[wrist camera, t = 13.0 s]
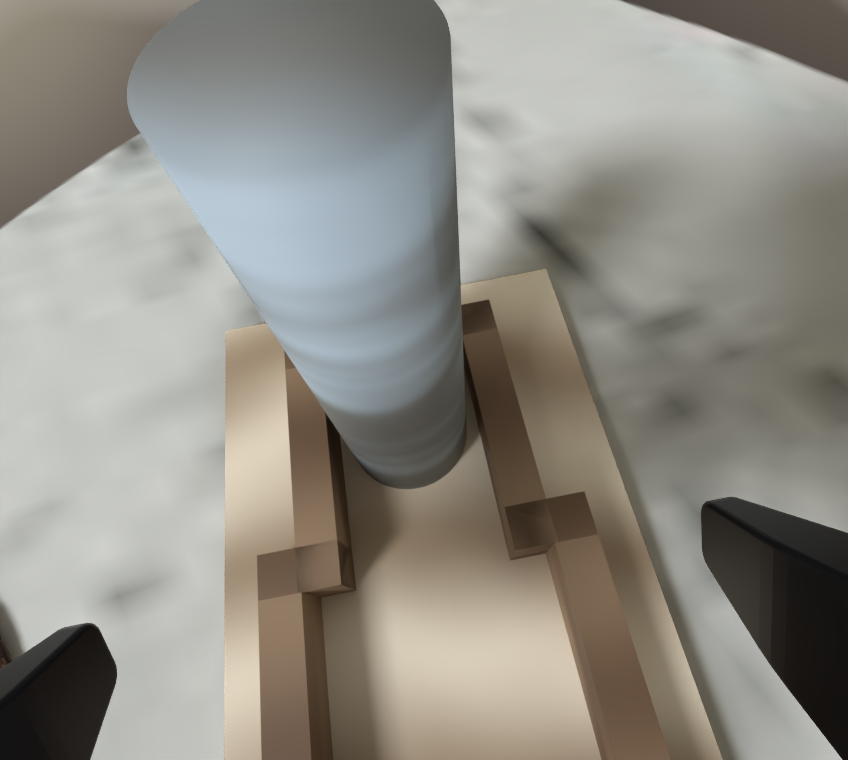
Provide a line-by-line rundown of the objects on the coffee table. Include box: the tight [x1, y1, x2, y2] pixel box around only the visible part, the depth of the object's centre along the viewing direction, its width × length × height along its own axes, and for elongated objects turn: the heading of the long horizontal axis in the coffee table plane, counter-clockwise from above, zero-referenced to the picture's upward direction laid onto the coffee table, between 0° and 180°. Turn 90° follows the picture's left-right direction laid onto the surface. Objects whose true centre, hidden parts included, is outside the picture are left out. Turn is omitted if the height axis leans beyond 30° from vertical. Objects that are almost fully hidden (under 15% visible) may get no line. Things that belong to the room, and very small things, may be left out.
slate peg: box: [127, 0, 467, 489], centre depth 12 cm, size 4×4×13 cm
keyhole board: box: [224, 269, 723, 760], centre depth 15 cm, size 20×13×3 cm, turn 10°
